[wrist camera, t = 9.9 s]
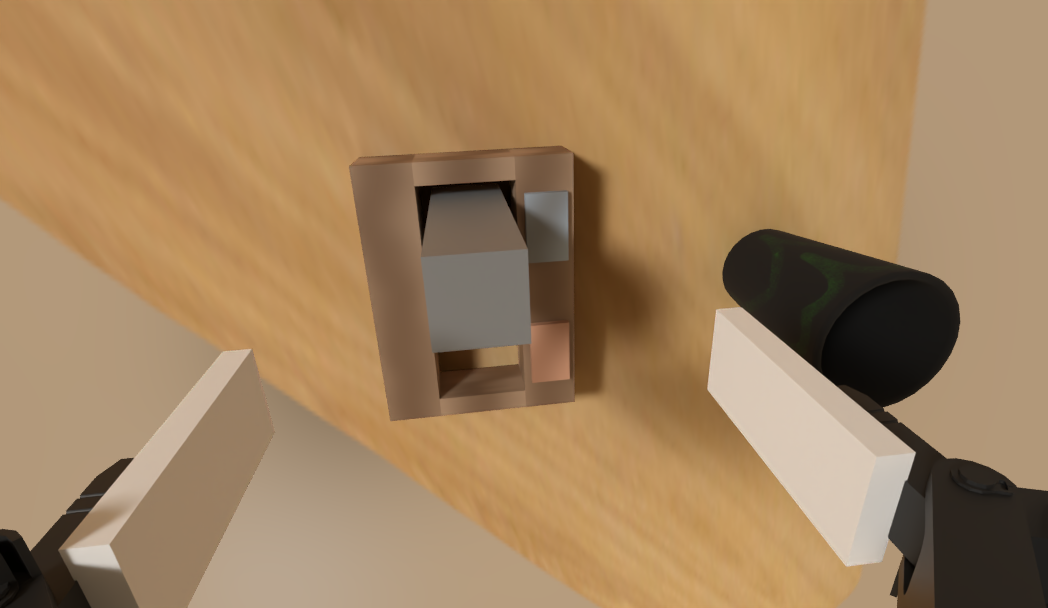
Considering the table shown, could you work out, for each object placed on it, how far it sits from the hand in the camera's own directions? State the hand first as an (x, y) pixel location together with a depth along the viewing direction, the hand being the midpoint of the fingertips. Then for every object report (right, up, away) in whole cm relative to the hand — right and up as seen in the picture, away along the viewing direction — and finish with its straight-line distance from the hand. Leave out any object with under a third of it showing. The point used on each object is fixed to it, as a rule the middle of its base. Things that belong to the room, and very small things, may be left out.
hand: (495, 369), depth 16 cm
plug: (-3, +7, +18) cm, 20 cm away
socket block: (-3, +4, +20) cm, 20 cm away
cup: (+17, +4, +22) cm, 29 cm away
